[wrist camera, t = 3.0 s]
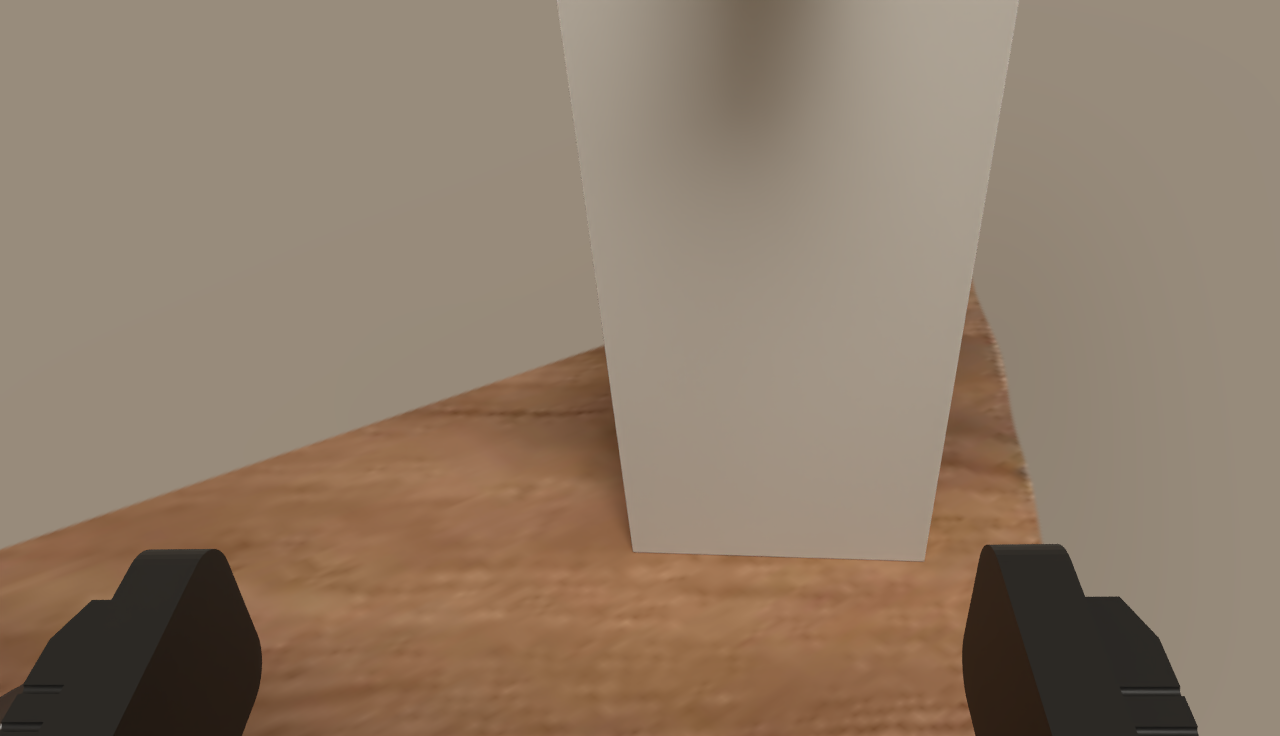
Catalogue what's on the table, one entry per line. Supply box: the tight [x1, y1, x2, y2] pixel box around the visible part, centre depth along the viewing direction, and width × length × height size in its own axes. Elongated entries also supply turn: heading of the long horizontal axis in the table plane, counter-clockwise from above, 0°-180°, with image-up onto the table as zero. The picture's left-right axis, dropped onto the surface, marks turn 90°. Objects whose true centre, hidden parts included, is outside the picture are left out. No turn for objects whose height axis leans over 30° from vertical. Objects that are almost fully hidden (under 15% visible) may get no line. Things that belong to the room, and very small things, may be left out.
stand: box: [557, 0, 1019, 561], centre depth 38 cm, size 11×13×42 cm
